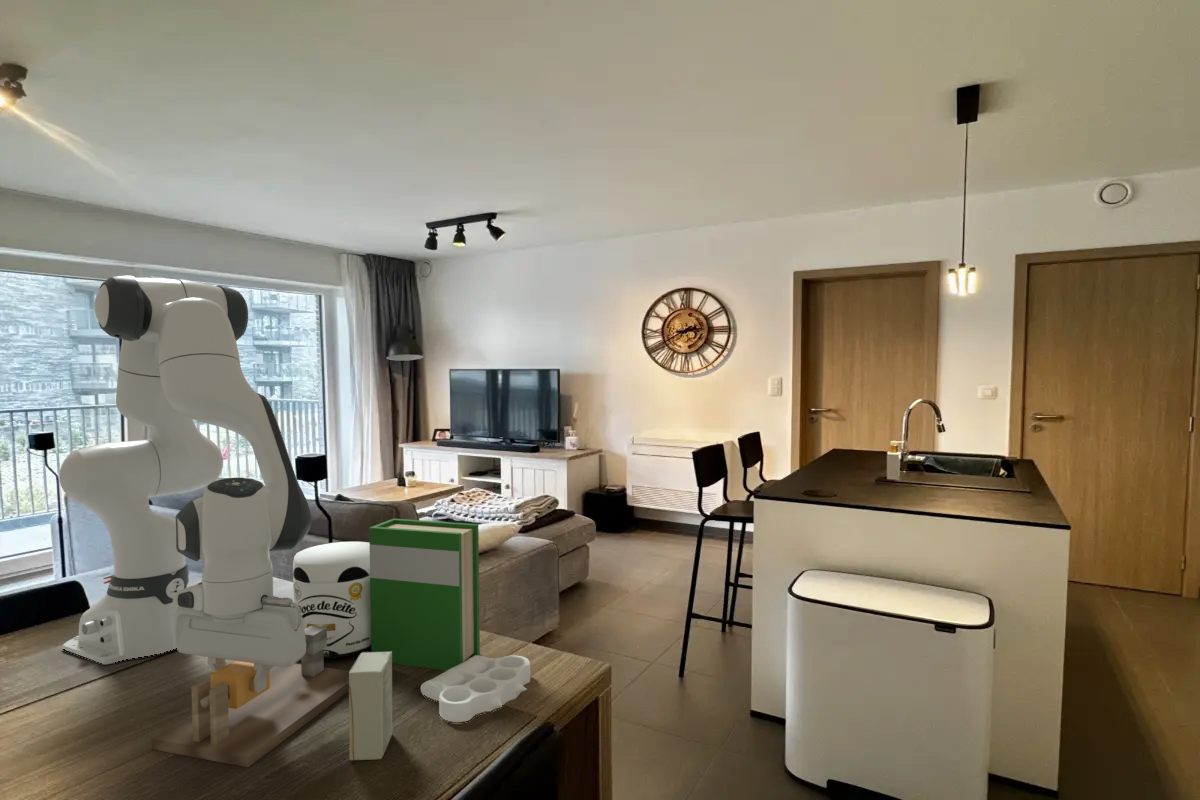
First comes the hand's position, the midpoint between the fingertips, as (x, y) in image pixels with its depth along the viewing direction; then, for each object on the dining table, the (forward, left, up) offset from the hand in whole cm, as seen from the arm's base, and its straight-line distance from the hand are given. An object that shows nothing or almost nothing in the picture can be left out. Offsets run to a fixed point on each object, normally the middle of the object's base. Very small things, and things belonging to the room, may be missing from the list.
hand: (241, 687), depth 92 cm
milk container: (-5, +28, -6) cm, 29 cm away
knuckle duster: (+29, +18, -7) cm, 35 cm away
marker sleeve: (0, 0, -1) cm, 1 cm away
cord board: (0, +5, -6) cm, 8 cm away
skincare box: (+21, +1, -6) cm, 22 cm away
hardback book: (+14, +28, -6) cm, 32 cm away
